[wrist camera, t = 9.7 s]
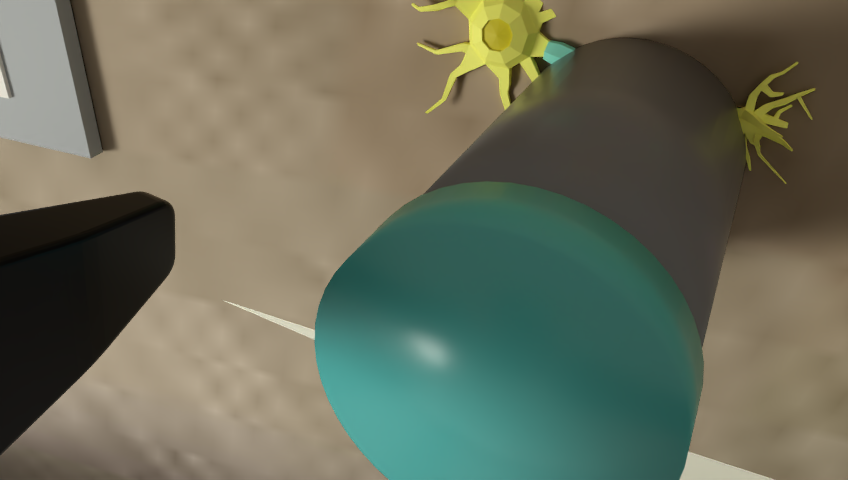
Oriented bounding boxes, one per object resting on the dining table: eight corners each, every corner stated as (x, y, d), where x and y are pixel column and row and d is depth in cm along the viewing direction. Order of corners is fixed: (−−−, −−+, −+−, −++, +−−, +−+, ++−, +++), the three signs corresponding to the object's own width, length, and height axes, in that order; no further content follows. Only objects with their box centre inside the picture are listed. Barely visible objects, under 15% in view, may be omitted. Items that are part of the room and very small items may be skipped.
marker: (698, 289, 15) (614, 601, 9) (488, 208, 16) (300, 445, 10) (797, 78, 12) (761, 328, 7) (541, 0, 13) (334, 163, 8)
